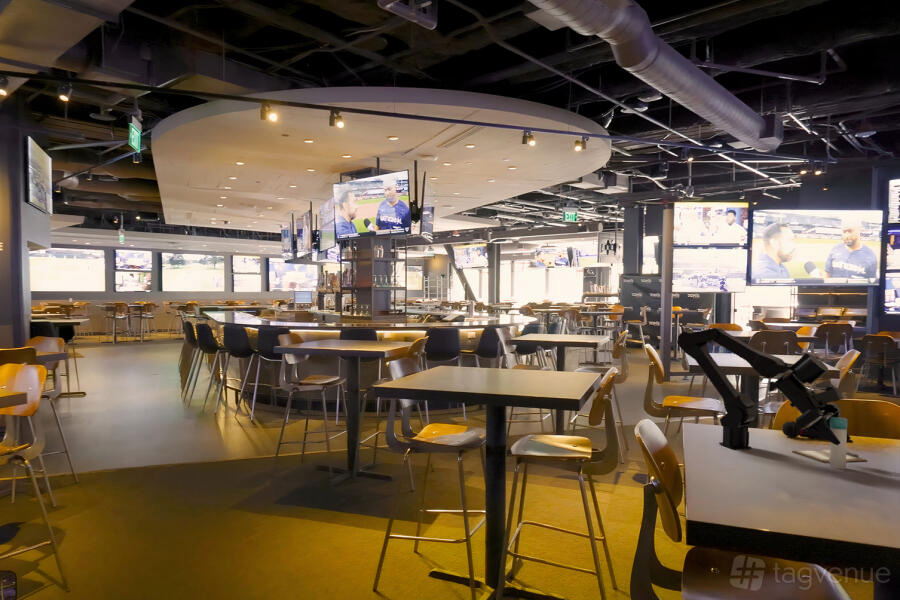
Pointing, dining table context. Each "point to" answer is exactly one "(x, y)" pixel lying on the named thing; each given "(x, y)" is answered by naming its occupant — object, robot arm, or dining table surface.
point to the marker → (839, 451)
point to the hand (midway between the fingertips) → (844, 441)
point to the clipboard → (826, 455)
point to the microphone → (799, 431)
